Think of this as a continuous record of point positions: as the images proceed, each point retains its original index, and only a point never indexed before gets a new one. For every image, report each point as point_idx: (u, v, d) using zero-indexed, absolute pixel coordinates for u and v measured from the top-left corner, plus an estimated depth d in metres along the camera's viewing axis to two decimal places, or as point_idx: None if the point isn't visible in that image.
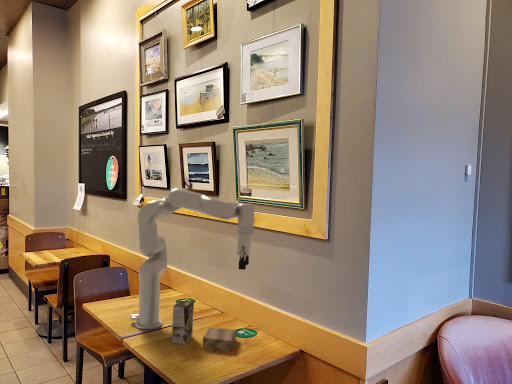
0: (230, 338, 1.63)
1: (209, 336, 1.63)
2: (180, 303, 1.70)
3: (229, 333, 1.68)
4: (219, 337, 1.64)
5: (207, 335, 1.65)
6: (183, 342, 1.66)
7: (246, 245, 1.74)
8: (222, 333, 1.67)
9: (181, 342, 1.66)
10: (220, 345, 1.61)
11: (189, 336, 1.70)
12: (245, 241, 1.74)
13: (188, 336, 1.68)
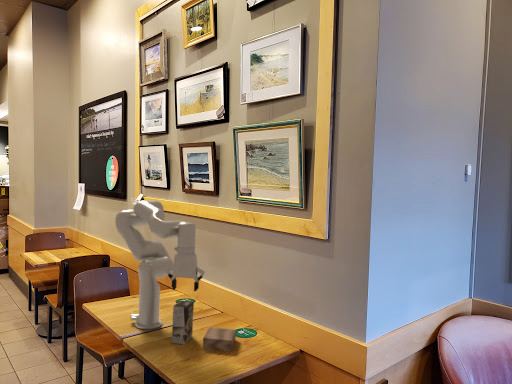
0: (230, 338, 1.63)
1: (210, 337, 1.63)
2: (180, 303, 1.70)
3: (229, 333, 1.68)
4: (219, 337, 1.64)
5: (207, 335, 1.64)
6: (183, 342, 1.66)
7: None
8: (222, 333, 1.67)
9: (181, 342, 1.66)
10: (221, 345, 1.61)
11: (189, 336, 1.70)
12: None
13: (188, 336, 1.68)
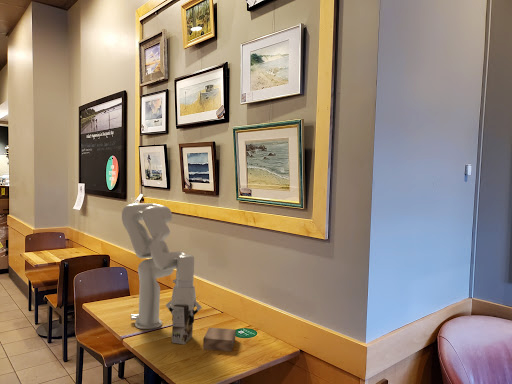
0: (231, 338, 1.63)
1: (210, 337, 1.63)
2: None
3: (229, 333, 1.69)
4: (219, 337, 1.64)
5: (207, 335, 1.64)
6: (183, 342, 1.66)
7: (195, 296, 1.71)
8: (222, 333, 1.67)
9: (181, 342, 1.66)
10: (221, 345, 1.61)
11: (189, 336, 1.70)
12: (195, 293, 1.70)
13: (188, 336, 1.68)
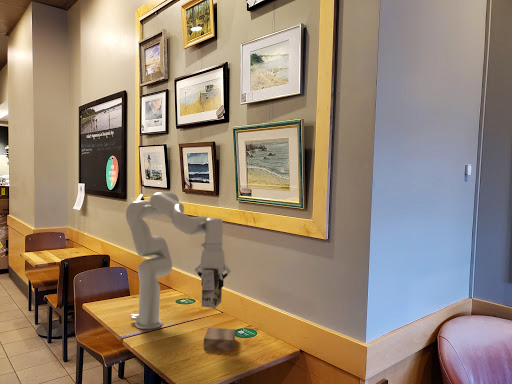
0: (231, 338, 1.63)
1: (210, 337, 1.63)
2: None
3: (229, 332, 1.69)
4: (220, 337, 1.64)
5: (207, 336, 1.64)
6: (213, 306, 1.63)
7: (224, 260, 1.68)
8: (222, 333, 1.67)
9: (211, 306, 1.63)
10: (221, 345, 1.61)
11: (218, 301, 1.67)
12: (224, 257, 1.67)
13: (217, 300, 1.65)
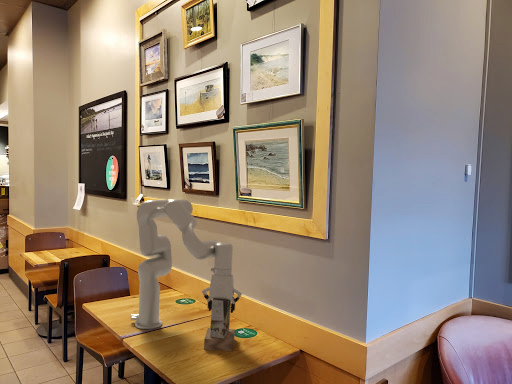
0: (231, 338, 1.63)
1: (210, 337, 1.63)
2: None
3: (229, 332, 1.69)
4: None
5: (207, 336, 1.64)
6: (222, 336, 1.62)
7: None
8: None
9: (220, 336, 1.62)
10: (222, 345, 1.61)
11: (227, 331, 1.67)
12: (233, 282, 1.67)
13: (226, 330, 1.65)
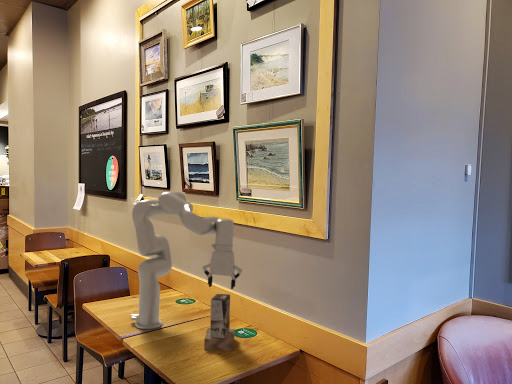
0: (231, 338, 1.63)
1: (211, 337, 1.63)
2: (217, 296, 1.67)
3: (229, 332, 1.69)
4: None
5: (208, 336, 1.64)
6: (222, 336, 1.62)
7: (234, 262, 1.67)
8: None
9: (220, 336, 1.62)
10: (222, 345, 1.61)
11: (227, 330, 1.67)
12: None
13: (226, 330, 1.65)
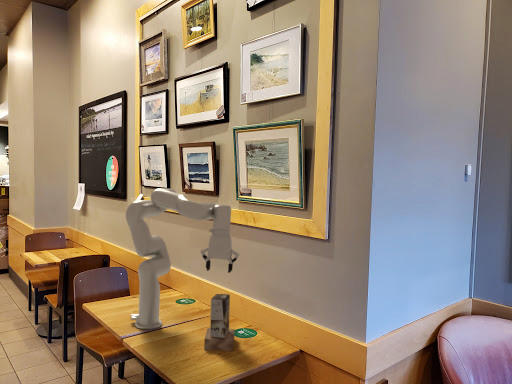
0: (231, 338, 1.63)
1: (211, 337, 1.63)
2: (217, 296, 1.67)
3: (229, 332, 1.69)
4: None
5: (208, 336, 1.64)
6: (222, 335, 1.62)
7: None
8: None
9: (220, 336, 1.62)
10: (222, 345, 1.61)
11: (227, 330, 1.67)
12: (231, 243, 1.71)
13: (226, 330, 1.65)
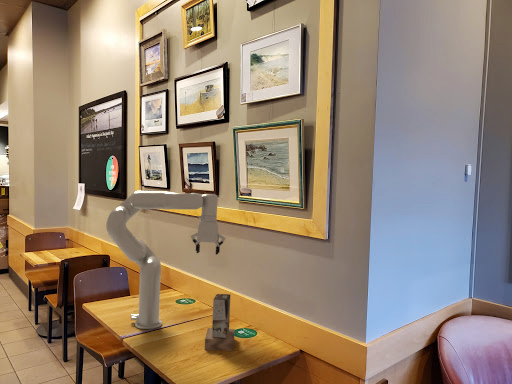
0: (232, 337, 1.64)
1: (211, 337, 1.63)
2: (218, 296, 1.67)
3: (229, 332, 1.69)
4: (220, 337, 1.64)
5: (208, 336, 1.64)
6: (224, 335, 1.63)
7: (218, 231, 1.92)
8: None
9: (222, 336, 1.63)
10: (223, 345, 1.61)
11: (228, 330, 1.67)
12: (218, 228, 1.92)
13: (227, 329, 1.66)
